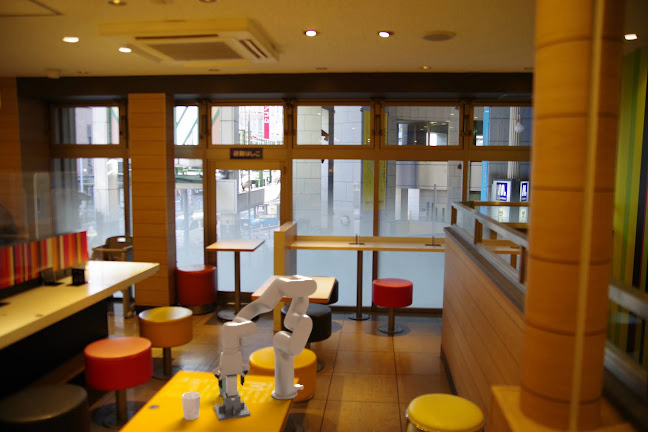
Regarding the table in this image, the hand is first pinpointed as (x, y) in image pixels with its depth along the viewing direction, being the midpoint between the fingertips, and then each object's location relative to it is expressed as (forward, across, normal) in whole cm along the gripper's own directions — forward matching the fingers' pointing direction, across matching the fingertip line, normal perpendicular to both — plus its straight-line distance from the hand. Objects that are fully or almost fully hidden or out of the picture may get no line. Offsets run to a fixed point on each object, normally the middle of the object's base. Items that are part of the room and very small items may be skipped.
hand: (231, 386), depth 237 cm
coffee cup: (+12, -1, -20) cm, 23 cm away
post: (+11, 0, 0) cm, 11 cm away
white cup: (+12, +18, -1) cm, 22 cm away
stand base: (+12, 0, 0) cm, 12 cm away
